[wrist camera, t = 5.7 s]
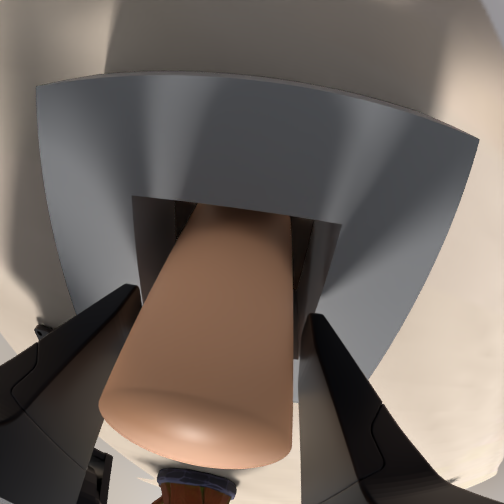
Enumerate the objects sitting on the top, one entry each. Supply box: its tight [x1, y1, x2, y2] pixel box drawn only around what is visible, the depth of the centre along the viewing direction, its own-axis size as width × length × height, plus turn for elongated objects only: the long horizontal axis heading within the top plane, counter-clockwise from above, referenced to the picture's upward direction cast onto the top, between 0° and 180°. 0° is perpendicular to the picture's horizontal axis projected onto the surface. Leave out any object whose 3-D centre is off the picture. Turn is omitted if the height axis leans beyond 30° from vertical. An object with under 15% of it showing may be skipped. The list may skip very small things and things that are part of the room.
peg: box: [98, 203, 293, 469], centre depth 9 cm, size 4×4×9 cm
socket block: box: [36, 71, 480, 403], centre depth 11 cm, size 12×12×4 cm
